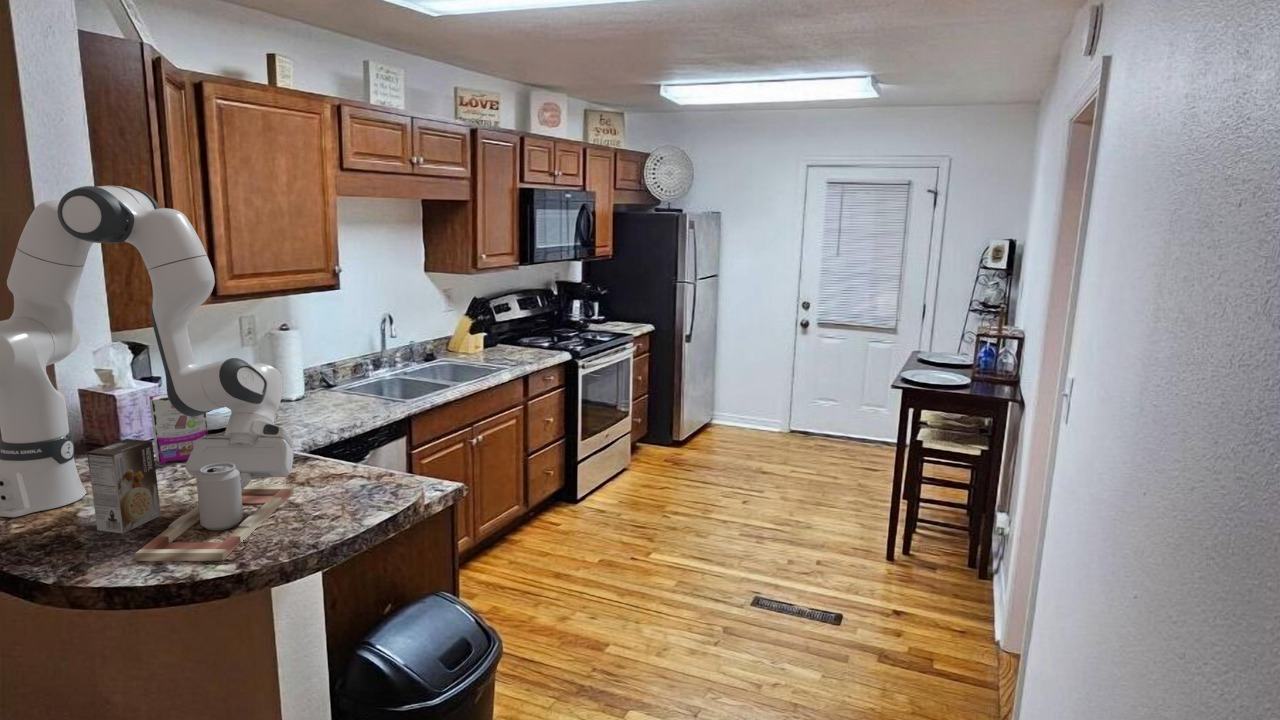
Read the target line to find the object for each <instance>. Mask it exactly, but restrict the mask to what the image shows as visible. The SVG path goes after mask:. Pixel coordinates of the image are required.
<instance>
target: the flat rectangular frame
mask: <svg viewBox="0 0 1280 720" xmlns="http://www.w3.org/2000/svg"><path fill="white" fill-rule="evenodd" d="M294 494H295V492H294V486H246V487H245V488H244V489H242V493H241V495H242V505H262V506H261V507H260V508H259V509H257V511H255V512H254V513H253V514H252V515H249V516H248V517H246V518H245V519H244V520H243V521H242V522H241V523H240V524H238V527H237V529H235V531H233V532H232V533H231V534H230V535H229V536H228V537H227V538H226V539H225V540H223V541H222V542H220V541H217V542H216V541H214V542H211V541H210V542H209V541H207V542H206V541H205V542H204V541H203V542H202V541H201V542H198V541H197V542H192V541H191V542H189V541H185V542H181V541H180V542H173V541H175V540H176V539H177V538H178V537H180V536H181V535H182V534H184V533H185V532H186V531H187V530H188V529H190V528H191V527H192V526H194V525H195V524H196V523H197V522H198V521H200V513H199V504H198V505H197V506H195V507H194V508H193V509H191V510H190V511H189V512H187V513H185V514H182V515H181V516H179V517H178V518H177V519H175V520H174V521H173V522H172V523H170V524H169V525H168V528H166V529H165V530H164V531H162V532H161V533H160V534H159V535H157V536H156V537H154V538H153V539H152V540H150V541H148V543H147V544H146V545H144V546H143V547H141V548H139V550H137V551H136V552H135V553H134V554H135V555H134V556H135V561H136V562H175V561H176V562H185V561H187V562H195V561H197V562H198V561H199V562H201V561H206V562H207V561H208V562H211V561H213V562H218V561H221V562H222V560H223V561H224V560H226V559H227V558H228V557H229V556H228V555H229V554H230V553H231V552H232V551H233V550H234V549H235V548H236V547H237V548H238V547H239V546H240V545H241V544H242V543H243V542H244V541H246V539H248V538H249V537H250V536H251V533H252V532H253V531H254V530H255V529H256V528H257V527H258V526H259V525H260V524H261V523H262V522H263V521H264V520H265V519H266V518H267V517H268V518H269V517H270V516H271V515H273V514H274V513H275V512H276V509H277V508H278V507H279V506H280V505H281V504H282V503H283V504H284V503H285V502H286V501H287V500H288V499H289V498H290V497H292V495H294ZM283 504H282V505H283ZM282 505H281V506H282ZM281 506H280V507H281ZM280 507H279V508H280ZM279 508H278V509H279ZM278 509H277V510H278ZM270 514H271V515H270ZM269 515H270V516H269ZM268 518H267V519H268ZM267 519H266V520H267ZM266 520H265V521H266ZM265 521H264V522H265ZM264 522H263V523H264ZM263 523H262V524H263ZM262 524H261V525H262ZM261 525H260V526H261ZM260 526H259V527H260ZM259 527H258V528H259ZM258 528H257V529H258ZM257 529H256V530H257ZM256 530H255V531H256ZM255 531H254V532H255ZM254 532H253V533H254ZM253 533H252V534H253ZM243 540H244V541H243ZM241 542H242V543H241ZM240 543H241V544H240ZM239 544H240V545H239ZM237 548H236V549H237ZM236 549H235V550H236ZM235 550H234V551H235ZM234 551H233V552H234ZM233 552H232V553H233ZM232 553H231V554H232ZM231 554H230V555H231ZM227 556H228V557H227Z"/></svg>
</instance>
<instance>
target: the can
mask: <svg viewBox="0 0 1280 720" xmlns="http://www.w3.org/2000/svg"><path fill="white" fill-rule="evenodd" d="M235 467H236V466H235V465H234V464H232V463H215V464H210V465H206V466H204V467H202V468H201V469H200V470H199V471H200V474H199V475H198V476H197V477H195V480H196V490H197V491H196V492H197V500H198V501H197V502H198V505H199V513H200V520H199V522H200V525H201V527H204V528H205V529H207V530H209V531H223V530H228V529H231V528H233V527H236V526H238V525H239V523H240V522H241V521H242V520H243V519H244V511H243V510H244V508H243V504H242V495H241V482H240V480H241V478H240V472H239V471H238V470H237V469H235Z"/></svg>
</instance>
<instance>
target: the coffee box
mask: <svg viewBox="0 0 1280 720" xmlns="http://www.w3.org/2000/svg"><path fill="white" fill-rule="evenodd" d="M153 441H154V440H143V439H142V440H141V439H130V438H125V439H122V440H120V441H116V442H114V443H110V444H107V445H104V446H101V447H99V448H95V449H93V450H89V451H87V452H86V455H87V460H88V461H87V462H88V467H89V468H88V471H89V477H90V484H91V493H92V499H93V508H94V516H95V522H96V529H97V531H100V532H107V533H114V534H115V533H117V534H126V533H128V532H130V531H132V530H134V529H136V528H139V527H141V526H143V525H144V524H147V523H149V522H151V521H153V520H155V519H157V518H159V517H161V516H162V513H161V504H160V497H159V496H160V495H159V487H158V478H157V470H156V461H155V453H154V444H153Z"/></svg>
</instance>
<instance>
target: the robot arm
mask: <svg viewBox="0 0 1280 720" xmlns="http://www.w3.org/2000/svg"><path fill="white" fill-rule="evenodd" d="M24 225H25V226H24V228H23V231H22V232H21V235H20V237H19V240H18V243H17V246H16V248H15V249H16V250H15V253H14V255H13V259H12V262H11V266H10V269H9V273H8V277H7V278H6V279H7V280H6V285H7V287H8V290H9V291H10V292H11V293H12V295H13V302H14V303H13V311H12V315H11V316H10V317H9V318H8V319H4V320H0V433H1V434H0V435H1V438H0V517H5V518H17V517H23V516H25V515H29V514H32V513H36V512H40V511H41V512H42V511H47V510H53V509H56V508H61V507H63V506H66V505H70V504H73V503H75V502H77V501H79V500H81V499H82V498H84V497H85V496H86V495H85V494H87V490H86V488H85V486H84V484H83V482H82V481H81V478H80V475H79V471H78V469H77V466H76V461H75V458H74V457H75V446H74V445H75V444H74V437H73V432H72V430H70V428H69V427H70V426H69V420H68V419H69V418H68V411H67V402H66V397H65V395H64V394H63V393H62V392H61V391H59V389H56V388H55V387H54V385H53V384H52V382H51V381H50V378H49V375H48V374H47V373H48V372H47V366H50V365H52V364H53V365H54V364H57V363H59V362H61V361H63V360H64V359H66V358H67V357H68V356H69V355H71V354H72V353H73V352H74V351H76V349H77V348H78V347H79V344H80V342H81V335H80V330H79V328H78V326H77V325H76V323H75V319H74V318H75V317H74V311H75V310H74V309H75V300H76V295H77V291H78V288H79V284H80V281H81V278H82V274H83V271H84V268H85V264H86V261H87V257H88V254H89V252H90V249H91V247H92V245H93V244H94V243H95V244H96V243H97V244H123V243H124V242H125V243H127V244H128V243H129V244H130V245H132V246H134V247H135V248H136V249H137V251H138V252H139V253H140V256H141V258H142V261H143V262H144V266H145V267H146V270H147V272H148V276H149V278H150V283H151V286H152V287H151V288H152V301H151V304H150V307H149V308H150V317H151V318H150V319H151V324H152V327H153V331H154V336H155V339H156V342H157V346H158V351H159V354H160V358H161V362H162V366H163V371H164V374H165V381H166V382H165V383H166V394H167V395H168V399H169V401H170V403H171V404H172V406H173V407H174V408H175V409H176V410H178V411H179V412H180V413H182V414H184V415H187V416H192V417H195V416H199V415H202V414H205V413H206V414H207V413H210V412H212V411H215V410H219V409H223V408H226V409H228V410H230V411H231V414H230V416H229V418H228V420H227V421H228V422H227V425H226V428H225V432H224V434H214V435H213V434H208V435H204V437H201V438H199V439H197V440H196V441H195V444H194V447H193V450H192V452H191V454H190V456H189V459H188V460H186V464H185V470H186V471H187V473H189V475H190V476H191V477H193V478H197V476H198V475H199V474H200V471H199V470H200V469H201V468H202V467H204V466H206V465H210V464H215V463H232V464H234V465H235V466H236V467H235V469H237V470H238V471H239V472H240V482H241V493H242V489H244V488H245V487H248V486H249V484H250V483H251V481H252V478H287V477H288V476H289V475H290V474H291V472H292V469H293V463H294V451H293V450H292V449H293V448H292V447H293V446H294V439H293V437H292V435H291V434H290V433H289V432H288V430H287V429H286V428H285V427H283V426H281V425H278V424H277V425H276V424H275V416H276V414H277V413H278V411H279V408H280V404H281V401H282V395H283V387H284V383H283V376H282V374H281V372H280V371H279V370H278V369H277V368H275V367H273V366H271V365H269V364H266V363H262V362H259V363H257V362H256V363H248V362H247V361H245V360H244V359H241V358H237V357H232V358H226V359H222V360H219V361H214V362H212V363H208V364H205V365H201V366H199V365H198V363H197V362H196V360H195V359H196V358H195V356H194V351H193V348H192V343H191V339H190V336H189V333H188V325H189V320H190V319H191V316H192V315H193V314H194V312H196V310H197V309H198V308H199V307H200V306H201V305H203V304H204V303H205V302H206V300H208V298H209V297H210V296H211V294H212V292H213V289H214V287H215V283H216V281H215V280H216V279H215V273H214V269H213V267H212V264H211V261H210V259H209V257H208V254H207V252H206V249H205V247H204V245H203V243H202V241H201V239H200V237H199V235H198V233H197V231H196V230H195V229H194V226H193V225H192V224H191V222H190V220H189V218H188V217H187V216H186V215H185V214H184V213H183V212H181V211H179V210H178V209H175V208H167V207H162V208H160V206H159V204H158V202H157V200H155V198H154V197H152V196H151V195H149V194H148V193H147V192H145V191H143V190H140V189H138V188H134V187H125V186H120V185H112V184H111V185H107V184H106V185H102V186H99V185H98V186H97V185H94V186H93V185H85V186H79V187H77V188H73V189H71V190H69V191H68V192H67V193H65V194H64V195H63V196H62V198H61V199H60V200H46V201H43V202H41V203H39V204H38V205H36V206H35V208H34V209H33V210H32V213H31V214H30V216H29V218H28V220H27V222H26V224H24ZM84 495H85V496H84ZM83 496H84V497H83Z"/></svg>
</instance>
